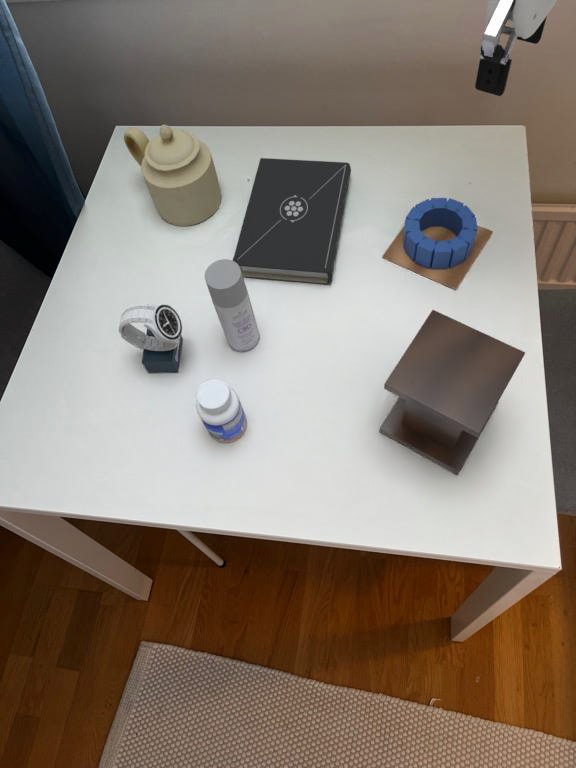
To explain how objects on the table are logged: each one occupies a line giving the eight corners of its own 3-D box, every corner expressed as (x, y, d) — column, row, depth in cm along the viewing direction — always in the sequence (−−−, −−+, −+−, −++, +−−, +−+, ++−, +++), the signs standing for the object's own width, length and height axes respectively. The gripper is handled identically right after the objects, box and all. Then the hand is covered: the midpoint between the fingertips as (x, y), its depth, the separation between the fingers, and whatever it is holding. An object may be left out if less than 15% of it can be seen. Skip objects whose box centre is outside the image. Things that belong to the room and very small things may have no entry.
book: (331, 285, 85) (331, 272, 83) (235, 276, 88) (231, 264, 85) (351, 176, 94) (351, 162, 92) (262, 171, 97) (260, 157, 94)
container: (247, 357, 81) (227, 295, 68) (221, 343, 83) (195, 280, 69) (266, 332, 83) (249, 267, 70) (239, 319, 84) (218, 252, 71)
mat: (492, 233, 87) (493, 231, 86) (455, 290, 83) (456, 288, 82) (420, 204, 90) (420, 202, 90) (382, 257, 87) (382, 256, 86)
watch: (192, 372, 81) (170, 331, 71) (136, 373, 82) (107, 332, 72) (196, 337, 84) (175, 293, 74) (142, 338, 85) (114, 295, 75)
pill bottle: (199, 425, 77) (180, 394, 69) (229, 398, 79) (214, 364, 70) (226, 451, 75) (209, 423, 67) (256, 423, 77) (243, 392, 68)
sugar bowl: (127, 224, 95) (90, 151, 81) (144, 174, 100) (112, 97, 86) (215, 228, 92) (191, 153, 79) (228, 177, 97) (208, 98, 84)
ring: (483, 231, 86) (489, 212, 83) (453, 279, 83) (457, 262, 80) (422, 207, 90) (425, 188, 86) (391, 253, 86) (392, 235, 83)
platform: (496, 405, 74) (525, 352, 62) (457, 475, 71) (479, 434, 58) (419, 367, 78) (432, 309, 66) (378, 431, 75) (384, 383, 62)
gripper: (553, -59, 46) (507, 122, 62) (629, -161, 52) (570, 28, 67) (465, -75, 49) (442, 103, 64) (547, -171, 55) (508, 14, 70)
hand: (507, 64), depth 66 cm, fingers open, 9 cm apart
